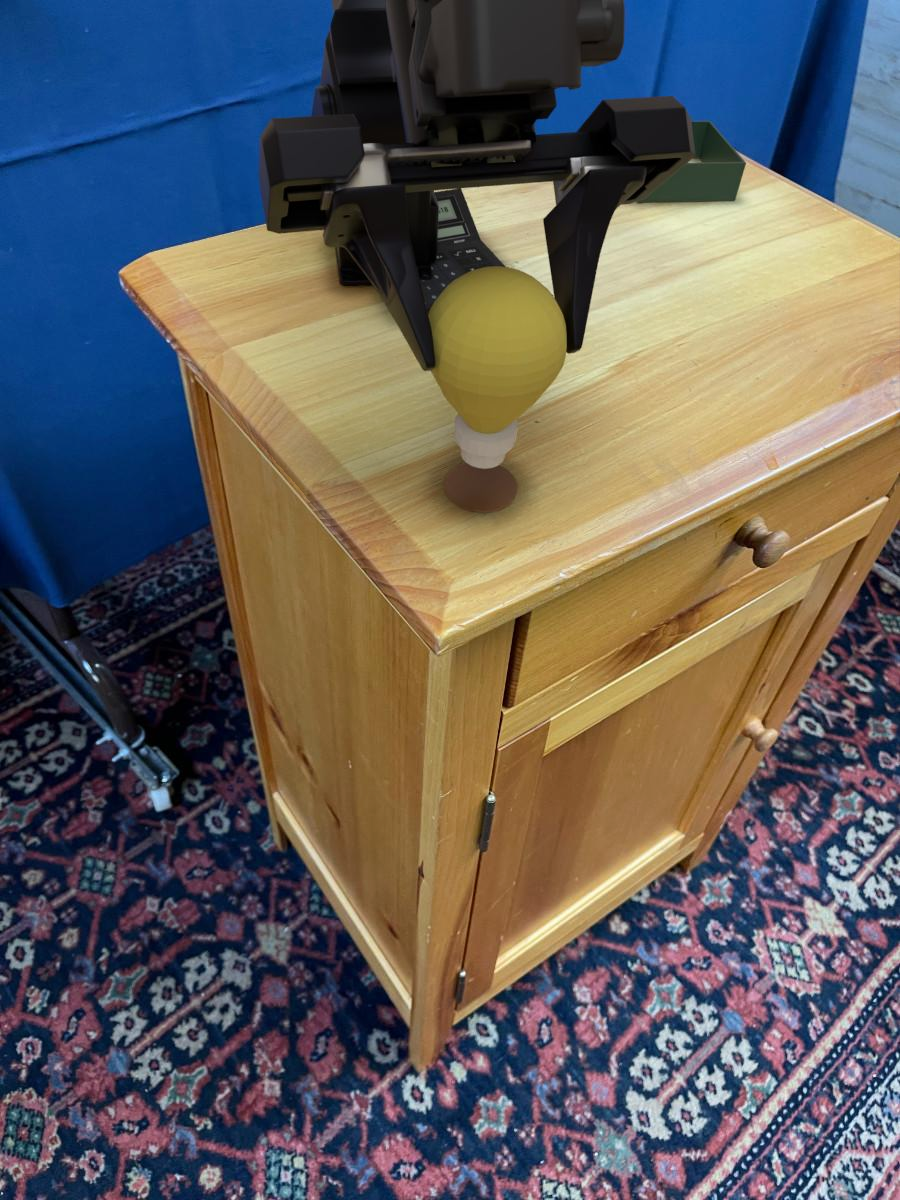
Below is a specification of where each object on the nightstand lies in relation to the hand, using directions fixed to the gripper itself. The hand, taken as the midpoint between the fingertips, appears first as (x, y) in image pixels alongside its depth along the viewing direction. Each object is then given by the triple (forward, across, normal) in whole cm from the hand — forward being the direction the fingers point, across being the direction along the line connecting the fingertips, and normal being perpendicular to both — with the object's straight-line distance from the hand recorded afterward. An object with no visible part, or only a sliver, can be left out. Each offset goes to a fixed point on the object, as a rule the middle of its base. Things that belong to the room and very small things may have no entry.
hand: (502, 360), depth 39 cm
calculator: (-10, +3, +24) cm, 26 cm away
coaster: (+5, 0, +7) cm, 9 cm away
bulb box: (-18, +27, +31) cm, 45 cm away
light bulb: (+4, 0, +6) cm, 7 cm away
